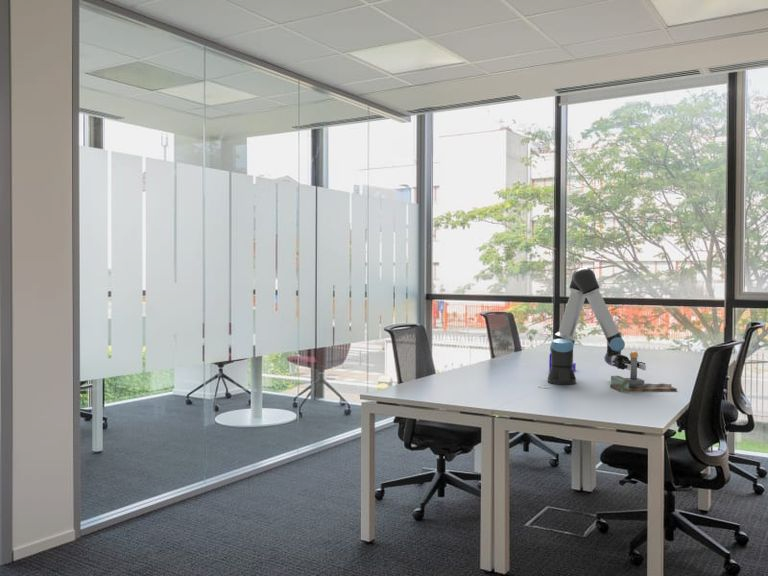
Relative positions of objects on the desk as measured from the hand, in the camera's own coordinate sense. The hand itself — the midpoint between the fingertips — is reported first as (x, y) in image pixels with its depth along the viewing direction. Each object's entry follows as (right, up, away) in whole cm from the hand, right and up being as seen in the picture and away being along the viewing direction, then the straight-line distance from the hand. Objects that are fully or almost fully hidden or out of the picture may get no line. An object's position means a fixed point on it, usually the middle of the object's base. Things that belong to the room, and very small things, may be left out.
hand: (637, 367), depth 349 cm
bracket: (-19, -10, +69) cm, 72 cm away
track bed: (+5, -12, +5) cm, 14 cm away
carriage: (0, -10, +5) cm, 11 cm away
